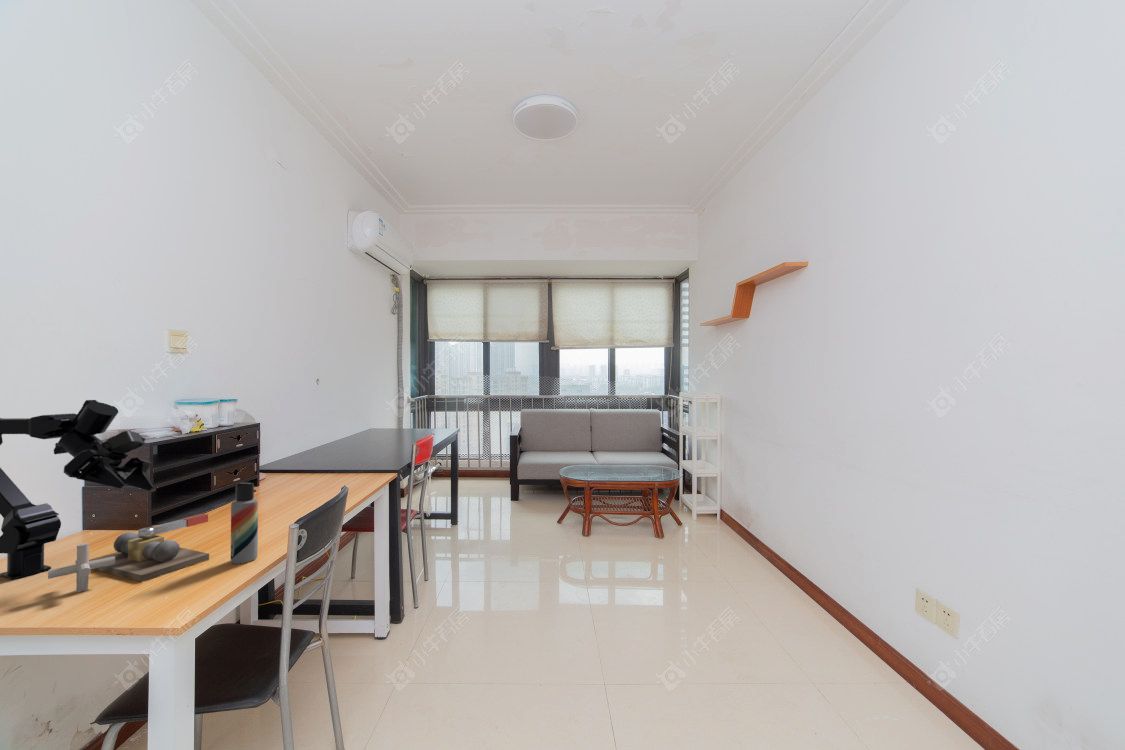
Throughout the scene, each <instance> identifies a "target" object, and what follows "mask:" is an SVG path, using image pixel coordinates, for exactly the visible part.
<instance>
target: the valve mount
mask: <svg viewBox="0 0 1125 750" xmlns="http://www.w3.org/2000/svg"><path fill="white" fill-rule="evenodd" d="M113 548H114V549H113V550H115V552H114V553H110V554H106V555H102V556H98V557H95V558H91V559H89V562H90V561H94V560H99V559H104V558H108V557H113V556H115V564H113V565H108V566H104V567H99V568H95V569H94V570H95V571H99V572H103V573H107V574H109V575H114V576H117V577H122V578H126V579H129V580H132V581H133V580H134V581H137V582H141V583H142V582H146V581H149V580H151V579H154V578H158V577H161V576H163V575H167V574H170V573H172V572H175V571H178V570H182V569H184V568H187V567H188V568H189V567H191V566H194V565H197V564H199V563H200V564H201V563H202V562H205V561H209V560H210V553H209V552H208V553H207V552H204V551H198V550H195V549H188V548H184V547H180V545H179V543H178V541H175V540H171V539H166V540H165V536H163V535H158V534H157V535H154V536H151V537H147V538H138V533H135V532H131V531H129V532H124V533H122V534H120V535H119V536H117V537H116V538H115V540H114V542H113Z"/></svg>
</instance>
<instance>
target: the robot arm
mask: <svg viewBox="0 0 1125 750" xmlns="http://www.w3.org/2000/svg"><path fill="white" fill-rule="evenodd" d="M118 414H119V410H118V408H117V406H114V405H110V404H107V403H103V402H100V401H98V400H96V399H86V400H85V401H84V402H83V404H82V407H81V408H80V410H79V411H78V413H74V412H73V413H58V414H56V413H55V414H42V415H38V416H34V417H33V416H32V417H29V418H27V417H26V418H23V417H22V418H19V417H18V418H17V417H16V418H15V417H14V418H13V417H12V418H10V417H9V418H6V417H5V418H4V417H0V446H1V445H2V444H3V443H4V441H3V435H27V436H29V437H31V438H36V439H39V440H40V439H41V440H49V439H59V440H58V442H56V443H55V444H54V446H55V447H54V448H53V454H54V455H61V454H69V455H70V456H72V457H73V458H72V459H71V460H70V461H69V462H67V463H66V464H65V465H64V467H63V473H64V474H65V475H66V476H67V477H69V478H75V479H77V480H82V481H85V482H90V483H95V484H100V485H103V486H108V487H113V488H116V489H122V488H123V487H124V486H125V485H127V486H130V487H135V488H137V489H138V488H139V489H141V490H145V491H152V490H153V489H154V485H153V483H152V482H151V479H150V478H149V475H148V473H147V471H148V470H150V468H151V467H152V465H153V463H152V462H151V461H150V460H148V459H147V458H143V457H141V458H140V457H133V458H130V459H129V460H128V461H127V462H125V464H122V462H123V461H122V460H126V458H127V457H129V454H128V453H129V452H131V451H133V450H137V449H139V448H141V447H143V446H144V445H145V443H146V438H145V437H144V436H142V434H140V433H138V432H134V431H131V430H124V431H122V432H120V433H117V434H116V435H113V436H111V437H110V438H108V439H106V440H104V441H103V440H101V439H100V438H98V437H97V435H100V434H104V433H105V432H106V431H107V430H108V428H109V427H110V426H111V423H113V421H114V420H115V418H116V416H117V415H118ZM59 514H60V513H59V512H56V511H55V510H54V509H53V508H52V506H51V505H50V504H49V503H48V502H47V503H46V502H45V503H42V504H37V505H36V504H33V503H32V502H31V500H29V499H28V497H26V495H25V494H24V493H23V492H22V490H21V489H20V488H19V487H18V486H17V485H16V484H15V482H14V481H13V480H12V479H11V478H10V477H9V475H8V474H7V473H6V472H5V471H4V470H3V469H2V468H1V467H0V515H1V516H2V518H3V520H2V524H1V529H0V530H1V533H2V534H1V535H0V554H6V555H7V559H6V562H7V563H6V571H4V572H0V577H3V578H5V577H6V579H9V580H14V579H19V578H23V577H27V576H30V575H33V574H38V573H42V572H46V571H48V570H52V566H49V565H46V564H45V544H48V543H51V542H52V543H53V542H56V540H57V538H58V534H59V532H60V529H61V527H62V521H61V519H60V517H59Z"/></svg>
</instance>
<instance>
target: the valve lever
mask: <svg viewBox="0 0 1125 750" xmlns="http://www.w3.org/2000/svg"><path fill="white" fill-rule="evenodd" d="M208 522H209V514H206V513H199V514H195V515H191V516H186V517H183V518H181V519H177V520H173V521H170V522H165V523H162V524H161V523H160V524H158V525H154V526H149V527H143V528H140V529H138V530H137V534H138V538H147V537H151V536H154V535H157V536H158V535H159V534H164V533H168V532H171V531H176V530H179V529H184V528H189V527H193V526H197V525H200V524H204V523H208Z"/></svg>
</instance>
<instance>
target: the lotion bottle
mask: <svg viewBox="0 0 1125 750" xmlns="http://www.w3.org/2000/svg"><path fill="white" fill-rule="evenodd" d="M254 484H255V483H254V482H246V481H243V482H238V483H236V484H235V500H234V501H231V503H230V562H231V563H232V564H233V565H236V564H237V565H238V564H240V563H241V564H246V562H247V563H249V561H250V562H252V560H253V561H254V559H255V560H256V559H258V554H259V553H258V552H259V499H258V498H255V496H254V495H255V493H254V492H255V490H254V489H255V485H254Z"/></svg>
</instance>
